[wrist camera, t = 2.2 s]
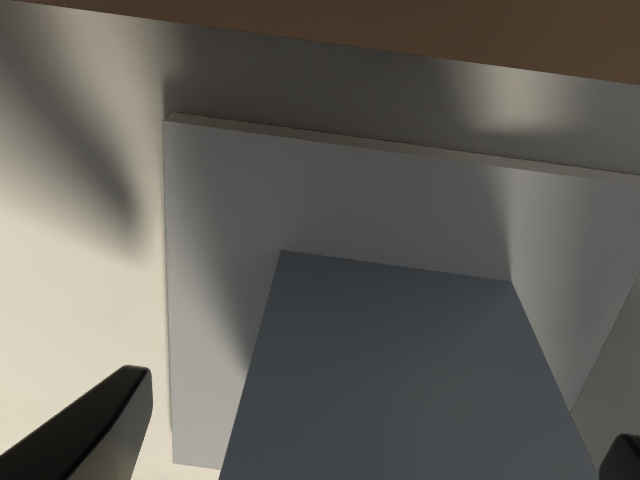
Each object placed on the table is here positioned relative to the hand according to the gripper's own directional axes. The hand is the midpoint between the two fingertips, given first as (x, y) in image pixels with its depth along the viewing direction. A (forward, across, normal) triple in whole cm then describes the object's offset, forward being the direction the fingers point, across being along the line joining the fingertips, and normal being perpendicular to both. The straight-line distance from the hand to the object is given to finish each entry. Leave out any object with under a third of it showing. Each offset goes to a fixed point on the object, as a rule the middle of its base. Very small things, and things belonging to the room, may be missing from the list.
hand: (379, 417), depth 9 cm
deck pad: (+2, 0, 0) cm, 2 cm away
